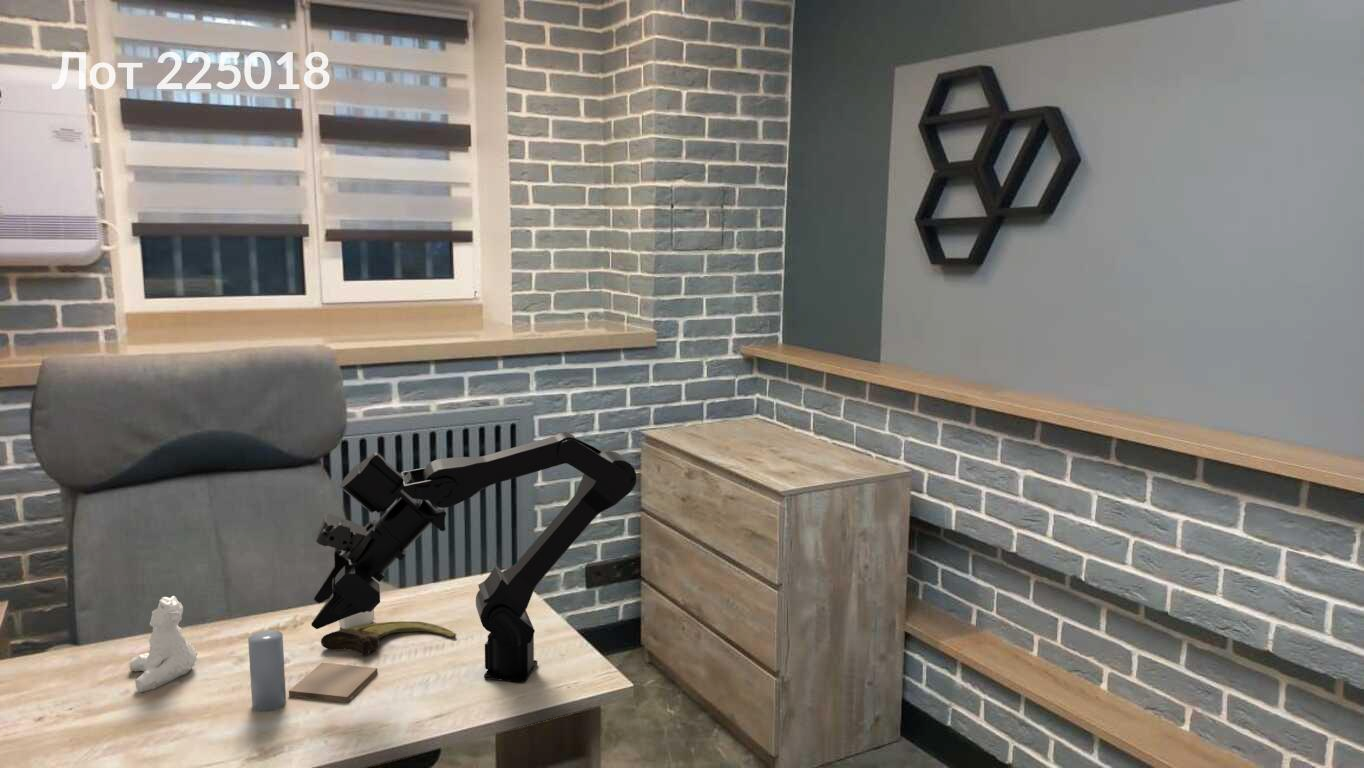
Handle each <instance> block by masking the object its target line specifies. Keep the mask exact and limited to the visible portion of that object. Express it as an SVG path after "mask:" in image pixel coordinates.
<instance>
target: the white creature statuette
mask: <svg viewBox="0 0 1364 768" xmlns="http://www.w3.org/2000/svg"><path fill="white" fill-rule="evenodd" d="M183 613H184V606H183V604H182V603H181V602H180V601H178V598H177V597H176V596H175V595H172V596H171V597H168V596H162V597H161V598H160V599H159V603H158V605H157V608H155V609H154V610H152V611H151V618H150V622H149V626H150V627H152V628H153V629H152V633H151V634H150V638H149V640H148V642H149V651H148V652H147V653H145V652H144V653H141V654H138V655H136V656H134V657H132V658H131V659H130V662H129V670H130V671H131V672H132V671H135V672H134V673H137V672H136V671H144V672H143V673H141V675H139V676H138V677H137V679H136V680H135V687H136V691H137V692H138V691H140V692H141V693H145V691H146V692H149V691H152V690H153V689H154V690H155V689H156V688H158V687H161V686H163V685H165V684H167V683H170V682H172V681H174V680H176V679H177V678H178V679H179V678H180V677H182V676H185V675H187V673H189V672H190V671H191V669H192V668H193V667H194V666H195V664H196V661H197V659H198V658H197V655H198V653H197V649H195V647H194V646H193V644H192V643H191V644H190V642H189V641H188V640H186V637H185V636H184V634H183V629H182V627H180V626H179V623H180V622H181V621H182V619H183V618H182V616H183ZM151 689H152V690H151ZM148 690H149V691H148ZM140 692H139V693H140Z"/></svg>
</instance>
